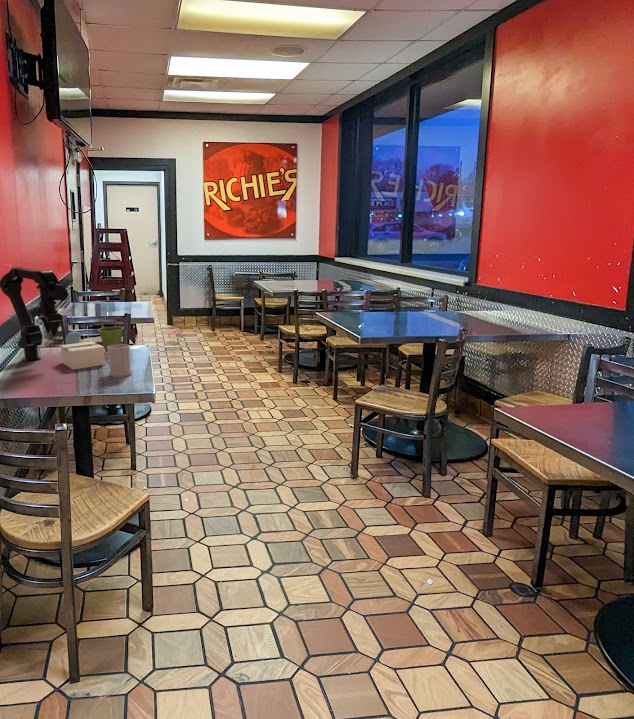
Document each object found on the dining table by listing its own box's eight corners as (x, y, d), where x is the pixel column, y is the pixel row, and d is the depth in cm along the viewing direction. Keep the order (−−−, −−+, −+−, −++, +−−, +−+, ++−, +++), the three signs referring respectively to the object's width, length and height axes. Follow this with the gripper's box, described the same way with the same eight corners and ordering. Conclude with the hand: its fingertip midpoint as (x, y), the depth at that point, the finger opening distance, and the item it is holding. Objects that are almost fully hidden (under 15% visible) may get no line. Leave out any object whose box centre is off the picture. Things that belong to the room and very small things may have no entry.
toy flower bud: (92, 332, 314) (66, 332, 308) (92, 350, 315) (66, 350, 310) (90, 330, 320) (64, 330, 314) (90, 347, 322) (64, 348, 316)
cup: (104, 378, 257) (102, 349, 254) (105, 373, 265) (103, 345, 263) (131, 376, 260) (129, 347, 257) (132, 371, 268) (129, 343, 265)
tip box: (62, 362, 285) (60, 345, 284) (93, 358, 293) (92, 341, 292) (72, 369, 273) (71, 351, 271) (105, 364, 281) (103, 346, 279)
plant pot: (102, 349, 313) (100, 327, 310) (127, 348, 314) (125, 326, 311) (97, 354, 301) (95, 331, 299) (123, 353, 302) (121, 330, 300)
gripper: (22, 298, 281) (26, 333, 285) (33, 303, 267) (37, 340, 270) (49, 296, 288) (52, 330, 291) (61, 301, 273) (64, 336, 277)
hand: (51, 334), depth 282 cm, fingers open, 9 cm apart
